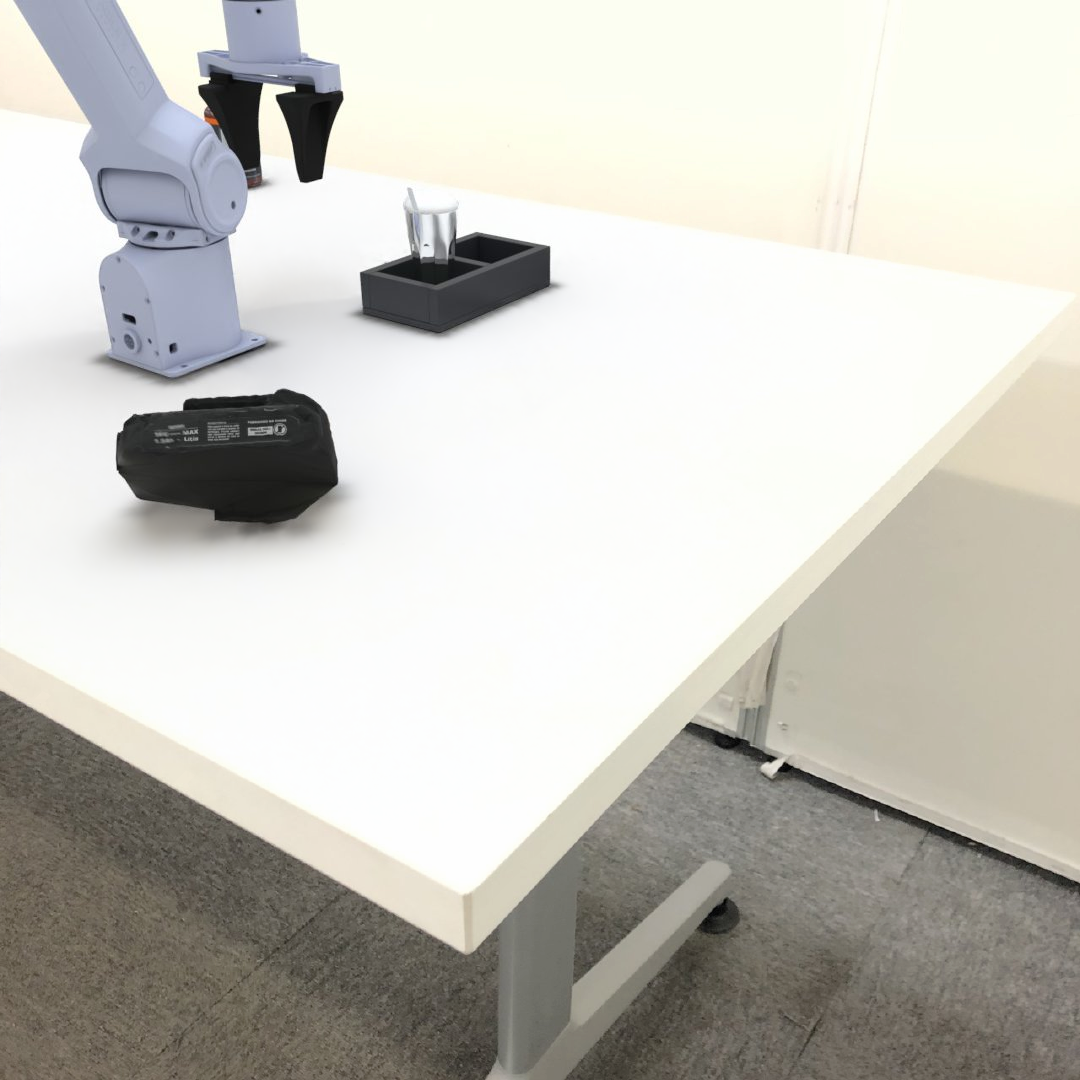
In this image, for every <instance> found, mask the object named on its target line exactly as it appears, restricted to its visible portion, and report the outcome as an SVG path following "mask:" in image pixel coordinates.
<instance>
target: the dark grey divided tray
mask: <svg viewBox="0 0 1080 1080" xmlns="http://www.w3.org/2000/svg"><path fill="white" fill-rule="evenodd" d="M359 279H360V281H359V282H360V292H361V293H360V294H361V306H362V313H363V314H364V315H369V316H371V317H376V318H380V319H384V320H389V321H392V322H396V323H400V324H403V325H407V326H412V327H415V328H419V329H422V330H426V331H429V332H434V333H442V332H445V331H447V330H450V329H451V328H453V327H456V326H458V325H460V324H463V323H465V322H467V321H470V320H472V319H474V318H477V317H479V316H481V315H483V314H485V313H488V312H491V311H493V310H495V309H498V308H500V307H502V306H504V305H507V304H509V303H512V302H514V301H516V300H518V299H521V298H523V297H525V296H527V295H531V294H532V293H535V292H537V291H539V290H542V289H544V288H546V287H549V286H550V285H551V246H550V245H546V244H540V243H536V242H530V241H525V240H519V239H514V238H509V237H505V236H499V235H494V234H489V233H484V232H479V231H475V232H472V233H469V234H466V235H463V236H461V237H458V238H457V237H456V248H455V276H454V278H453V279H451V280H448V281H446V282H443V283H440V284H438V285H432V284H428V283H424V282H419V281H415V280H414V273H413V265H412V257H411V254H409V255H406V256H402V257H399V258H396V259H394V260H391V261H388V262H386V263H382V264H380V265H379V264H378V265H376V266H374V267H371V268H368V269H365V270H362V271H360V272H359Z"/></svg>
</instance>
